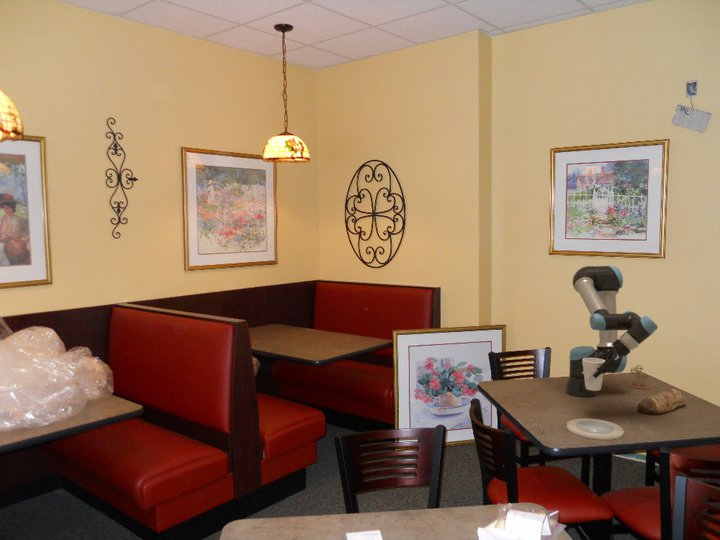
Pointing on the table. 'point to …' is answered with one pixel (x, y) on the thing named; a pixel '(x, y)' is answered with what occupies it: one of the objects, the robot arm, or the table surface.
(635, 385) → the gingerbread man figurine
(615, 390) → the table surface
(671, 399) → the bread loaf
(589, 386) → the foam cup
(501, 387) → the table surface
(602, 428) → the plate
